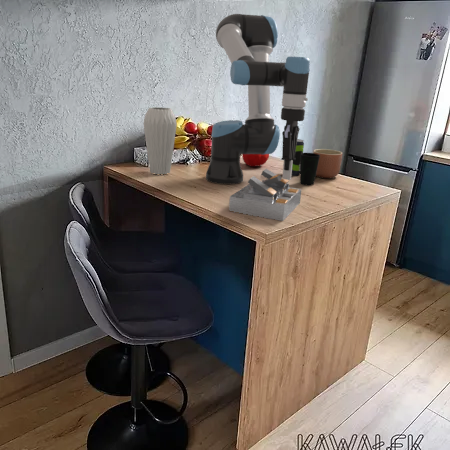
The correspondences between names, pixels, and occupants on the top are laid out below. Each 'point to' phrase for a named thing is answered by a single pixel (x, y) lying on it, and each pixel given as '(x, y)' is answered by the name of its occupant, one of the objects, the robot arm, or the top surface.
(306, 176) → the cup
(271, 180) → the switch
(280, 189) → the switch unit
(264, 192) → the switch
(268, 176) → the switch
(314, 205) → the top surface
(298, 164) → the beverage can
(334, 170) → the planter
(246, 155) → the tomato
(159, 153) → the vase
